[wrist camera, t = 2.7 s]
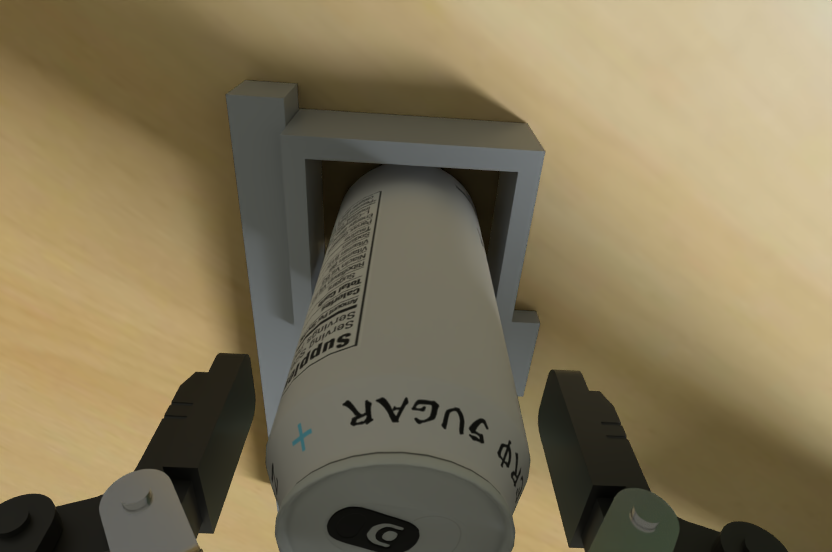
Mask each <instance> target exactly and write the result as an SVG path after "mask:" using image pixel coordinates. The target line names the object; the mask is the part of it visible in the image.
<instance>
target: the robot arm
mask: <svg viewBox="0 0 832 552" xmlns="http://www.w3.org/2000/svg"><path fill="white" fill-rule="evenodd" d="M254 411H255V390H254V383H253V376H252V368H251V361H250V357H249V355H248V354H230V353H219V354H218V355H217V356H216V358H215V360H214V362H213V364H212V366H211V368H210V370H209V372H195V373H194V374H193V375H192V376H191V377H190V378H188V379H187V380H186V381H185V382H184V383H183V384H182V385H180V387H179V389H178V391H177V393H176V394H175V396H174V398H173V400H172V404H171V405H170V406H169V408H168V409H167V411H166V413H165V416H164V419H162V421H161V422H160V424H159V426H158V428H157V430H156V432H155V434H154V436H153V437H152V439H151V441H150V443H149V445H148V447H147V449H146V450H145V452H144V454H143V456H142V458H141V460H140V462H139V464H138V465H137V467H136V469H135V470H134V472H131V473H129V474H127V475H125V476H123V477H121V478H120V479H118V480H117V481H115V482H114V483H113V484H112V485H111V486H110V487H109V488H108V489H107V490H106V492H105V493H104V494H103V495H100V496H98V497H94V498H91V499H87V500H82V501H78V502H74V503H70V504H65V505H61V506H57V507H55V505H54V503H53V502H52V500H51V499H50V498H49V497H47V496H45V495H41V494H26V495H21V496H18V497H14V498H12V499H9V500H7V501H5V502H3V503H1V504H0V552H203V550H202V549H200V547H199V545H198V543H197V541H196V538H197V535H198V533H211V534H214V531H215V528H216V525H217V522H218V519H219V516H220V513H221V510H222V507H223V504H224V502H225V499H226V496H227V493H228V490H229V487H230V484H231V481H232V478H233V475H234V472H235V470H236V467H237V464H238V461H239V458H240V455H241V452H242V449H243V446H244V443H245V440H246V438H247V435H248V432H249V429H250V426H251V423H252V420H253V416H254ZM538 426H539V433H540V437H541V441H542V445H543V449H544V453H545V457H546V460H547V464H548V468H549V472H550V476H551V480H552V484H553V488H554V491H555V495H556V499H557V503H558V507H559V511H560V515H561V519H562V522H563V526H564V530H565V534H566V538H567V542H568V546H569V548H584V550H585V552H788V551H787V549H786V548H785V547H784V546H783V544H782V543H781V542H780V541H779V540H778V539H777V538H775V537H774V536H773V535H772V534H770V533H769V532H767V531H766V530H764V529H762V528H760V527H758V526H756V525H754V524H750V523H747V522H731V523H729V524H727V525H726V526H724V528H723V529H722V531H721V532H718V531H715V530H712V529H709V528H706V527H703V526H700V525H697V524H694V523H690V522H688V521H685V520H683V519H681V518H679V517H677V516H676V514H675V513H674V511H673V510H672V508H671V507H670V506H669V505H668V504H667V503H666V502H665V501H664V500H663V499H662V498H660V497H659V496H657V495H656V494H654V493H652V492H651V491H650V489H649V487H648V484H647V482H646V480H645V477H644V475H643V473H642V470H641V468H640V466H639V464H638V461H637V459H636V457H635V454H634V452H633V450H632V447H631V445H630V443H629V441H628V440H627V439H626V434H625V431H624V429H623V427H622V426H621V422H620V420H619V418H618V415H617V413H616V411H615V408H614V406H613V405H612V404H611V403H610V402H609V401H608V400H607V399H606V398H605V397H604V396H603V394H602V393H601V392H600V391H589V390H588V388H587V385H586V383H585V380H584V378H583V375H582V373H581V372H580V371H570V370H551V371H550V372H549V375H548V378H547V382H546V386H545V390H544V393H543V397H542V401H541V405H540V408H539V415H538Z"/></svg>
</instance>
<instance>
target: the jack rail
mask: <svg viewBox="0 0 832 552" xmlns="http://www.w3.org/2000/svg"><path fill="white" fill-rule="evenodd" d="M226 101H227V109H228V117H229V125H230V133H231V141H232V149H233V157H234V165H235V173H236V181H237V189H238V197H239V205H240V213H241V221H242V229H243V237H244V246H245V254H246V262H247V270H248V278H249V286H250V294H251V302H252V310H253V318H254V326H255V334H256V342H257V350H258V358H259V366H260V374H261V382H262V390H263V398H264V406H265V414H266V422H267V430H268V438H269V435H270V432H271V429H272V426H273V423H274V419H275V416H276V413H277V410H278V406H279V403H280V400H281V397H282V393H283V390H284V387H285V384H286V380H287V377H288V374H289V371H290V368H291V364H292V361H293V358H294V355H295V351H296V348H297V345H298V342H299V338H300V335H301V332H302V329H303V326H304V322H305V319H306V316H307V313H308V309H309V306H310V303H311V300H312V296H313V293H314V290H315V287H316V283H317V280H318V277H319V274H320V271H321V267H322V264H323V261H324V258H325V243H324V212H323V182H322V160H331V161H347V162H363V163H380V164H396V165H412V166H428V167H444V168H461V169H477V170H493V171H500V174H499V181H498V187H497V194H496V200H495V207H494V213H493V220H492V226H491V233H490V239H489V246H488V252H487V262H488V267H489V271H490V276H491V280H492V285H493V289H494V294H495V298H496V303H497V307H498V312H499V316H500V321H501V325H502V330H503V334H504V339H505V343H506V348H507V352H508V357H509V361H510V366H511V370H512V375H513V379H514V384H515V388H516V393H517V396H523V395H524V391H525V386H526V382H527V378H528V373H529V369H530V365H531V361H532V356H533V352H534V348H535V343H536V339H537V335H538V331H539V326H540V321H539V318H538V315H537V312H536V311H522V310H514V307H515V302H516V297H517V292H518V287H519V282H520V277H521V272H522V267H523V262H524V256H525V251H526V246H527V241H528V236H529V231H530V226H531V221H532V216H533V211H534V206H535V201H536V196H537V191H538V186H539V180H540V175H541V170H542V165H543V160H544V155H545V150H544V149H543V147H542V146H541V144H540V142H539V141H538V139H537V138H536V136H535V135H534V133H533V131H532V130H531V128H530V127H529V125H528V124H527V123H515V122H499V121H484V120H468V119H453V118H437V117H422V116H406V115H391V114H375V113H360V112H344V111H329V110H313V109H299V107H298V88H297V84H296V83H281V82H265V81H250V80H245V81H243V82H242V83H241V84H239V85H238V86H237V87H235V88H234V89H232V90H231V91H230V92H228V93H227V94H226ZM276 502H277V501H276ZM277 510H278V511H279V506H278V503H277Z"/></svg>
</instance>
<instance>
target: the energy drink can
mask: <svg viewBox="0 0 832 552" xmlns="http://www.w3.org/2000/svg"><path fill="white" fill-rule="evenodd" d="M529 467H530V454H529V448H528V442H527V438H526V433H525V429H524V424H523V420H522V415H521V411H520V406H519V402H518V397H517V393H516V388H515V384H514V379H513V375H512V370H511V366H510V361H509V357H508V352H507V348H506V343H505V339H504V334H503V330H502V325H501V321H500V316H499V312H498V307H497V303H496V298H495V294H494V289H493V285H492V280H491V276H490V271H489V267H488V262H487V258H486V253H485V249H484V244H483V240H482V235H481V231H480V226H479V222H478V217H477V213H476V209H475V206H474V204H473V201H472V199H471V197H470V195H469V194H468V192H467V191H466V190H465V188H464V187H463V185H461V184H460V183H459V182H458V181H457V180H456V179H455V178H454V177H453V176H451V175H450V174H448V173H446V172H445V171H443V170H442V169H440V168H437V167H428V166H412V165H396V164H385V165H382V166H380V167H377V168H375V169H373V170H370V171H369V172H368V173H366V174H365V175H363V176H362V177H360V178H359V179H358V180H357V181H356V182H355V183H354V184H353V185H352V186H351V187H350V188H349V190H348V192H347V193H346V195H345V197H344V198H343V200H342V203H341V206H340V209H339V212H338V216H337V219H336V222H335V225H334V229H333V232H332V235H331V238H330V241H329V245H328V248H327V251H326V254H325V258H324V261H323V264H322V267H321V271H320V274H319V277H318V280H317V283H316V287H315V290H314V293H313V296H312V300H311V303H310V306H309V309H308V313H307V316H306V319H305V322H304V326H303V329H302V332H301V335H300V338H299V342H298V345H297V348H296V351H295V355H294V358H293V361H292V364H291V368H290V371H289V374H288V377H287V380H286V384H285V387H284V390H283V393H282V397H281V400H280V403H279V406H278V410H277V413H276V416H275V419H274V423H273V426H272V429H271V432H270V435H269V439H268V442H267V445H266V468H267V472H268V475H269V479H270V483H271V486H272V489H273V492H274V495H275V498H276V501H277V503H278V506H279V511H278V514H277V517H276V525H275V537H276V541H277V544H278V548H279V551H280V552H511V551H512V549H513V547H514V539H515V527H514V522H513V517H512V515H513V513H514V510H515V508H516V506H517V503H518V501H519V499H520V496H521V494H522V492H523V489H524V487H525V485H526V482H527V479H528V474H529Z"/></svg>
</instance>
